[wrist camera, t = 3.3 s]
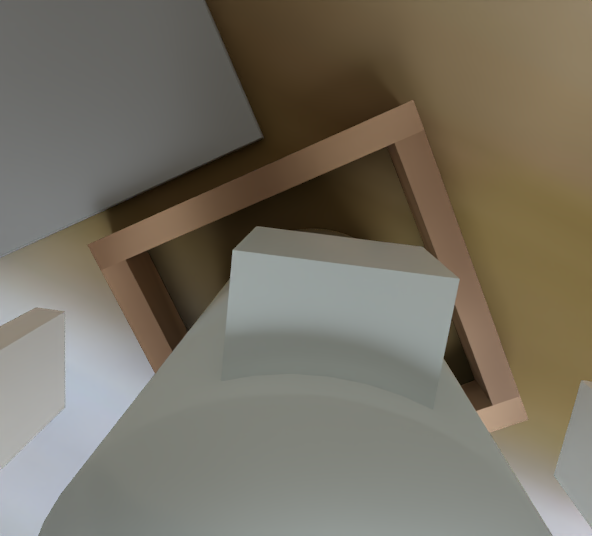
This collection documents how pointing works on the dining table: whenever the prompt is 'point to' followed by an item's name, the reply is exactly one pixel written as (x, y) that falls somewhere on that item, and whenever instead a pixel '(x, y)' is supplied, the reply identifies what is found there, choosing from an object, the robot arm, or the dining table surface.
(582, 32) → the dining table surface
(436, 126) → the dining table surface
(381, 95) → the dining table surface
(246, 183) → the frame
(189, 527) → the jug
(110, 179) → the coaster
